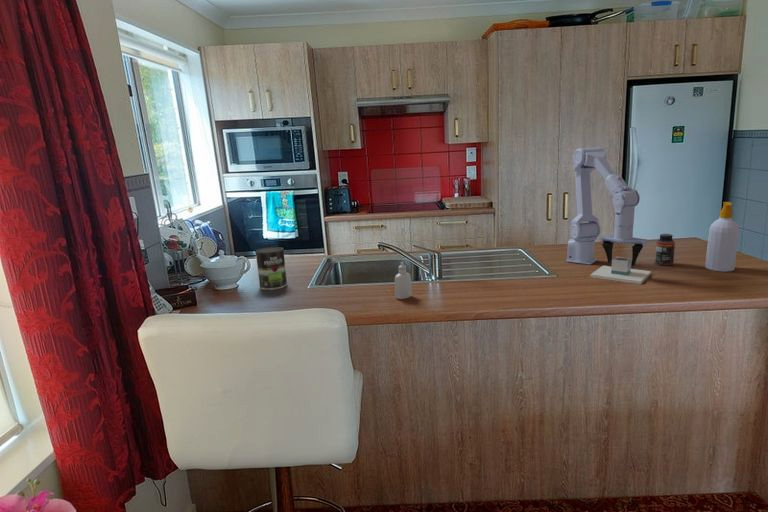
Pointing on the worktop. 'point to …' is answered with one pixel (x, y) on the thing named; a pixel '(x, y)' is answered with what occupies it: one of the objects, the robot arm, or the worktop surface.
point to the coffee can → (271, 268)
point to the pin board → (632, 277)
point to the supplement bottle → (665, 250)
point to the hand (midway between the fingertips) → (621, 263)
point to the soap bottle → (722, 242)
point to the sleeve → (621, 266)
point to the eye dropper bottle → (402, 283)
